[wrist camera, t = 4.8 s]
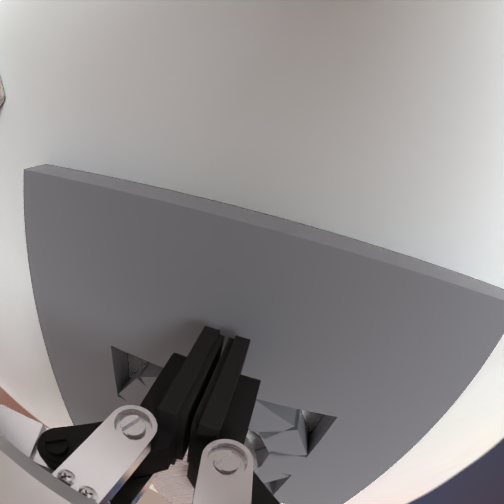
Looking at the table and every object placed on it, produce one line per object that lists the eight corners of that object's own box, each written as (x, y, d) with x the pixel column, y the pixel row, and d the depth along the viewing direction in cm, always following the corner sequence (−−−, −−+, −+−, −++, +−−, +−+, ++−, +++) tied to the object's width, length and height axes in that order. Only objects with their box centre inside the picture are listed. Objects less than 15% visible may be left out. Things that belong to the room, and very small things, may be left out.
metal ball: (129, 504, 11) (153, 431, 16) (231, 530, 11) (237, 457, 17) (140, 472, 9) (171, 379, 14) (277, 505, 9) (275, 411, 15)
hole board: (45, 164, 12) (23, 169, 10) (503, 289, 10) (519, 305, 8) (82, 413, 20) (73, 424, 18) (335, 494, 17) (334, 509, 16)
